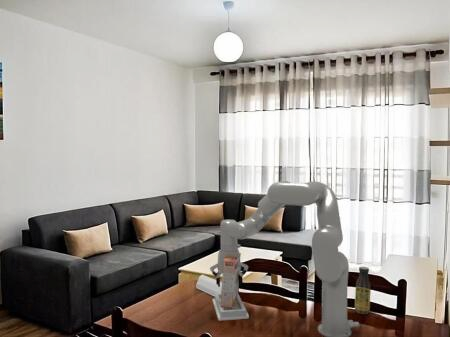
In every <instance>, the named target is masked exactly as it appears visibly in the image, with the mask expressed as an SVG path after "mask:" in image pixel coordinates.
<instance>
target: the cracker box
mask: <svg viewBox="0 0 450 337" xmlns="http://www.w3.org/2000/svg"><path fill="white" fill-rule="evenodd" d="M239 254H240V257H241V254H242V253H241V252H239ZM221 275H222V276H221V277H222V278H221V282H222V289H221V305H220V306H222V307H229V308H233V306H234V303H235V301H236V299H237V297H238V295H239V286H240V285H239V274H238V257H225V259H224V260H223V273H222V274H221Z"/></svg>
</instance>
